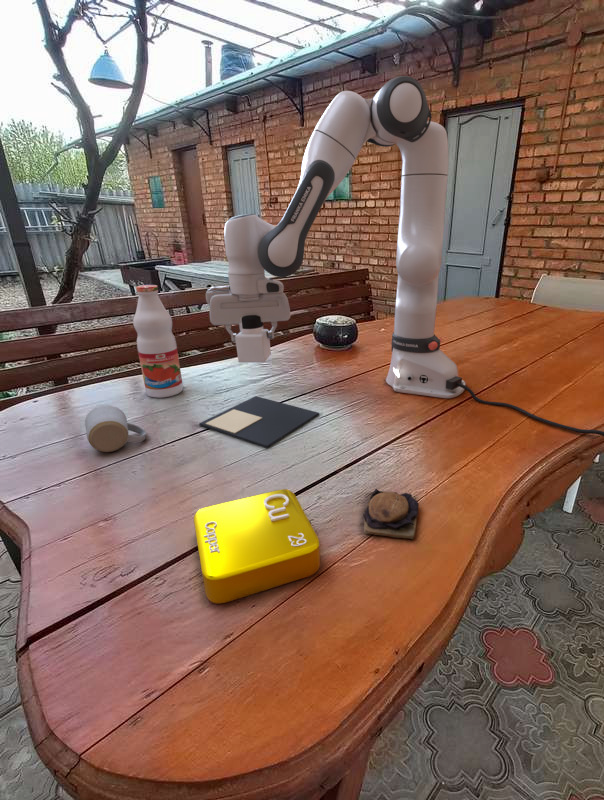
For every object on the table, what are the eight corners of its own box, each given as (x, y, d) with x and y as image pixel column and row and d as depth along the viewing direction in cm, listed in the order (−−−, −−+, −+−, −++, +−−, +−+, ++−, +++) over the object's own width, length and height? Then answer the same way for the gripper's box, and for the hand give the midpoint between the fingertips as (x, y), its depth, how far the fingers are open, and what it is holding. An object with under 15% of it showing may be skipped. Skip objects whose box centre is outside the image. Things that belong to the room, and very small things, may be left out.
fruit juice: (182, 383, 121) (166, 282, 110) (184, 395, 113) (167, 287, 102) (146, 388, 117) (126, 284, 106) (146, 400, 109) (124, 289, 98)
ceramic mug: (91, 458, 83) (83, 423, 80) (89, 441, 89) (81, 408, 86) (150, 445, 88) (144, 412, 85) (144, 430, 94) (138, 398, 91)
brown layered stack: (416, 542, 62) (418, 522, 60) (359, 534, 63) (360, 514, 62) (418, 498, 72) (420, 480, 70) (369, 493, 73) (369, 474, 71)
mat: (319, 414, 102) (319, 411, 102) (267, 448, 87) (267, 444, 87) (256, 398, 111) (255, 395, 111) (199, 425, 96) (198, 422, 96)
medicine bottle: (271, 354, 116) (266, 310, 111) (265, 362, 110) (260, 316, 105) (245, 354, 117) (240, 310, 112) (238, 362, 110) (231, 316, 105)
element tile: (195, 532, 64) (191, 506, 62) (292, 507, 69) (290, 483, 67) (208, 610, 51) (203, 580, 49) (324, 572, 56) (324, 544, 55)
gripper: (203, 289, 101) (211, 345, 106) (289, 285, 105) (292, 339, 111) (204, 285, 106) (212, 339, 112) (286, 281, 111) (289, 333, 116)
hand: (253, 339), depth 111 cm, fingers closed on medicine bottle, 8 cm apart
